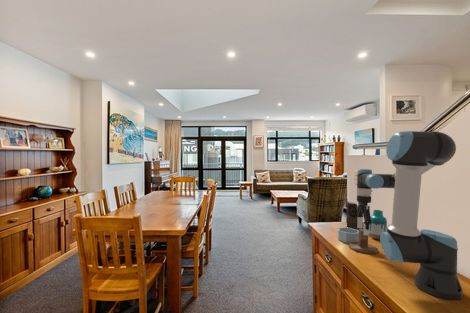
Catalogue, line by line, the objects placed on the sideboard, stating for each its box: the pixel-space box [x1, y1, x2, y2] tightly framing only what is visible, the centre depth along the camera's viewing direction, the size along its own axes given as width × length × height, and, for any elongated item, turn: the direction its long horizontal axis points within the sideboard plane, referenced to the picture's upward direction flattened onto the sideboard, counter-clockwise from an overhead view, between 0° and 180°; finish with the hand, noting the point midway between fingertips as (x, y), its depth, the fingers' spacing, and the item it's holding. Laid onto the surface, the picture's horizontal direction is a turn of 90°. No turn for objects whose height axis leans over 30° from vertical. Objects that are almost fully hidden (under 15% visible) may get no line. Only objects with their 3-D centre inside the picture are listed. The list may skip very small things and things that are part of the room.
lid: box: [348, 228, 379, 255], centre depth 142 cm, size 15×15×11 cm
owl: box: [345, 201, 364, 230], centre depth 187 cm, size 13×13×20 cm
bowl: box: [336, 226, 359, 244], centre depth 157 cm, size 13×13×7 cm
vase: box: [368, 209, 388, 241], centre depth 162 cm, size 11×11×19 cm
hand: (363, 231), depth 142 cm, fingers open, 13 cm apart
